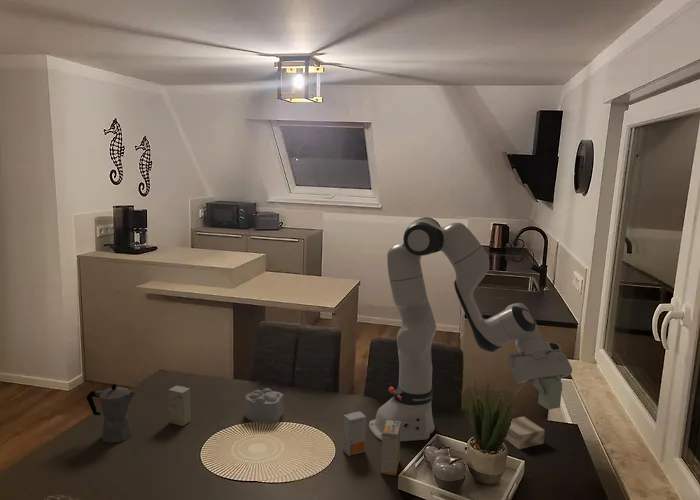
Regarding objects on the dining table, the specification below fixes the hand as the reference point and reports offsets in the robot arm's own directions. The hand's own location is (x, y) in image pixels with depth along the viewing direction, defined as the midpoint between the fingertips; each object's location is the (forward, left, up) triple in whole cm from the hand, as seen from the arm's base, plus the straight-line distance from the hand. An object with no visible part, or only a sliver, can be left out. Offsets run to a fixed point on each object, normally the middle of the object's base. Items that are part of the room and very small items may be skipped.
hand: (551, 392), depth 164 cm
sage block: (0, +1, -4) cm, 4 cm away
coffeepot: (-127, +56, -21) cm, 140 cm away
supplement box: (-49, +10, -21) cm, 54 cm away
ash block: (-1, +11, -21) cm, 24 cm away
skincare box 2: (-56, +22, -21) cm, 64 cm away
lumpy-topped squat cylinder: (-78, +54, -21) cm, 98 cm away
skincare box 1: (-106, +59, -21) cm, 123 cm away
